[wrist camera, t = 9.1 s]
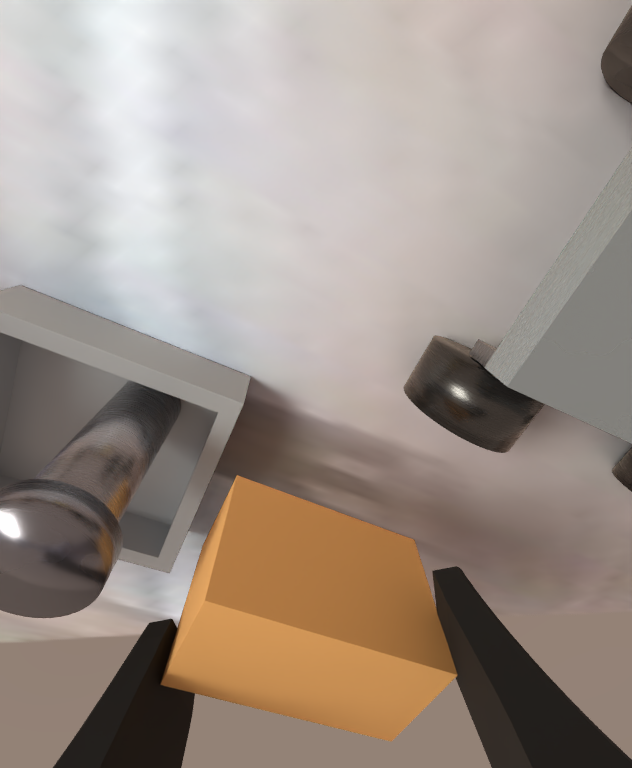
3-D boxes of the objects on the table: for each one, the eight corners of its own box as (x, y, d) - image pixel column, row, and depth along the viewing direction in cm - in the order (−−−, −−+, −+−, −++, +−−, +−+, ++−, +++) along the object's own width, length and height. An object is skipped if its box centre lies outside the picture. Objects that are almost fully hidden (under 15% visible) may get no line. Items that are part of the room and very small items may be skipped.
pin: (103, 424, 16) (-54, 602, 9) (116, 354, 15) (-52, 492, 8) (181, 445, 17) (94, 628, 10) (199, 379, 16) (115, 530, 8)
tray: (-14, 471, 18) (-59, 511, 15) (19, 284, 15) (-32, 299, 12) (184, 530, 20) (169, 573, 17) (250, 376, 16) (243, 403, 14)
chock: (202, 545, 13) (159, 684, 9) (237, 475, 12) (204, 600, 8) (368, 599, 14) (391, 741, 10) (414, 539, 13) (457, 675, 9)
